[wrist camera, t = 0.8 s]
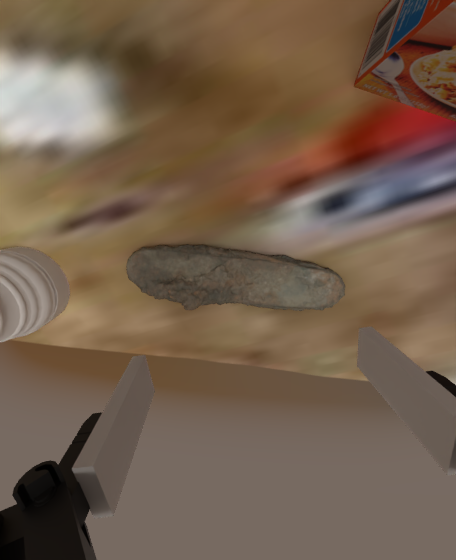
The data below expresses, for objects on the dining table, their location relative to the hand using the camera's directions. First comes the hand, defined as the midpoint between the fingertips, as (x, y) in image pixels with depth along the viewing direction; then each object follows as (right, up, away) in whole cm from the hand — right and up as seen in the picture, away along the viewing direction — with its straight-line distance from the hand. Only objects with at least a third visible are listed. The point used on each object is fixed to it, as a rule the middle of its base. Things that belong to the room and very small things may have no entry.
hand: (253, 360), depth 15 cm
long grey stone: (0, +6, +26) cm, 27 cm away
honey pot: (-34, +4, +25) cm, 43 cm away
